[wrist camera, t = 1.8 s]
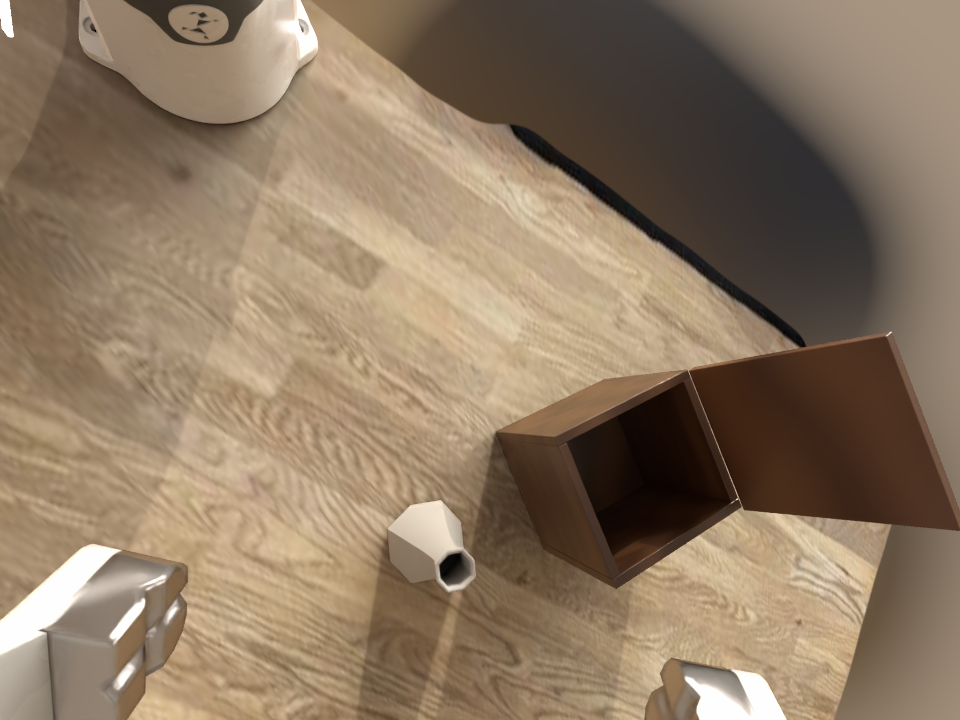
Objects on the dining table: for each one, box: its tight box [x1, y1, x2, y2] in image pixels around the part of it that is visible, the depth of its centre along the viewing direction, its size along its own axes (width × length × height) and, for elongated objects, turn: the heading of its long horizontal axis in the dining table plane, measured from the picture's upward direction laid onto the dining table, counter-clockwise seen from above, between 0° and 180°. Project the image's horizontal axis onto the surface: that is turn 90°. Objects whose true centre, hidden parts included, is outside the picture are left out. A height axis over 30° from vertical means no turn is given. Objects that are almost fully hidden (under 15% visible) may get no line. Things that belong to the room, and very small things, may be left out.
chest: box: [496, 370, 742, 589], centre depth 48 cm, size 14×13×13 cm
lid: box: [689, 332, 960, 531], centre depth 38 cm, size 14×13×1 cm
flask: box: [387, 500, 476, 593], centre depth 44 cm, size 7×7×10 cm
